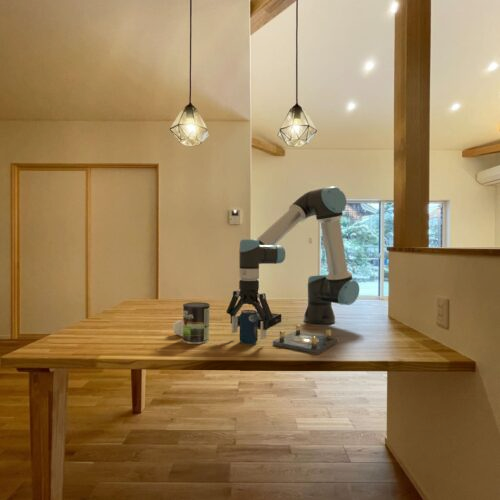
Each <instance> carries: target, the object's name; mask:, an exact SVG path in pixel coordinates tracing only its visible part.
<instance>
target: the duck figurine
mask: <svg viewBox="0 0 500 500" xmlns="http://www.w3.org/2000/svg"><path fill="white" fill-rule="evenodd" d="M181 314H182V315H183V311H181ZM172 328H173V333H174V334H175V335H177V336H180V337H183V319H181V320H177V321H175V322H174V323H173V326H172Z"/></svg>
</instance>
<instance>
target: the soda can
mask: <svg viewBox="0 0 500 500" xmlns="http://www.w3.org/2000/svg"><path fill="white" fill-rule="evenodd" d="M240 312H241V313H240V314H239V316H240V325H239V341H240V343H241V344H242V345H247V346H250V345H252V346H253V345H255V344H256V343H257V342H258V339H259V337H258V336H259V335H258V334H259V330H258V329H259V327H258V315H257V313H256V312H257V310H254V309H243V310H241V311H240Z"/></svg>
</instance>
